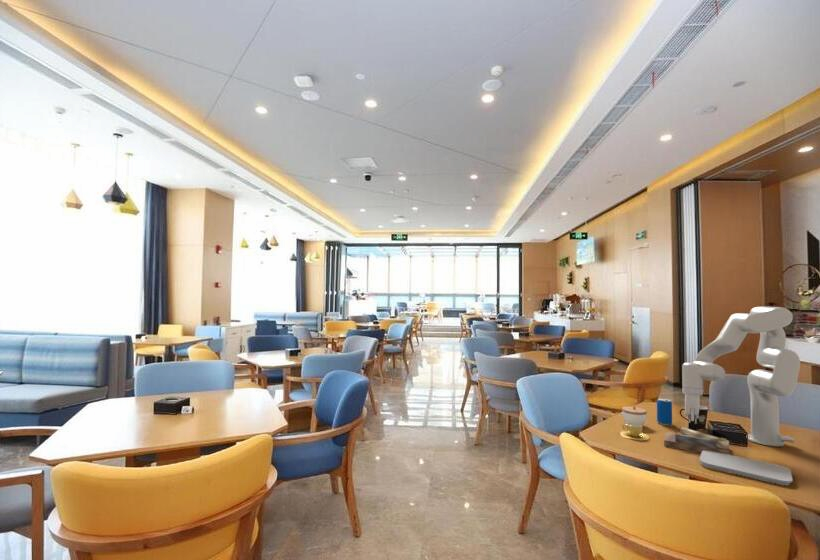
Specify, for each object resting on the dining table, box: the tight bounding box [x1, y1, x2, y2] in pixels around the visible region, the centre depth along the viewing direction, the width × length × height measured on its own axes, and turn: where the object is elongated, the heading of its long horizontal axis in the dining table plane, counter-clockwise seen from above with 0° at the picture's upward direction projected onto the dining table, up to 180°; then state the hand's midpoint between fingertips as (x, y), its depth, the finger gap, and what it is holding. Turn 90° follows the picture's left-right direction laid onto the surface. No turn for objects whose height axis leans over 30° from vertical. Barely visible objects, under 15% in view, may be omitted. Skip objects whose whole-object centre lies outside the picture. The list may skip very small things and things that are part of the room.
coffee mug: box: [679, 404, 709, 430], centre depth 198 cm, size 12×9×10 cm
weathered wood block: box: [663, 431, 731, 455], centre depth 172 cm, size 22×13×6 cm, turn 54°
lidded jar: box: [621, 405, 648, 426], centre depth 200 cm, size 11×11×9 cm
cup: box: [619, 422, 650, 441], centre depth 185 cm, size 12×12×5 cm
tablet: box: [699, 450, 794, 487], centre depth 150 cm, size 16×26×2 cm, turn 49°
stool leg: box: [679, 427, 730, 449], centre depth 171 cm, size 18×3×4 cm, turn 24°
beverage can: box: [656, 397, 673, 426], centre depth 203 cm, size 6×6×12 cm
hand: (692, 431), depth 180 cm, fingers closed
